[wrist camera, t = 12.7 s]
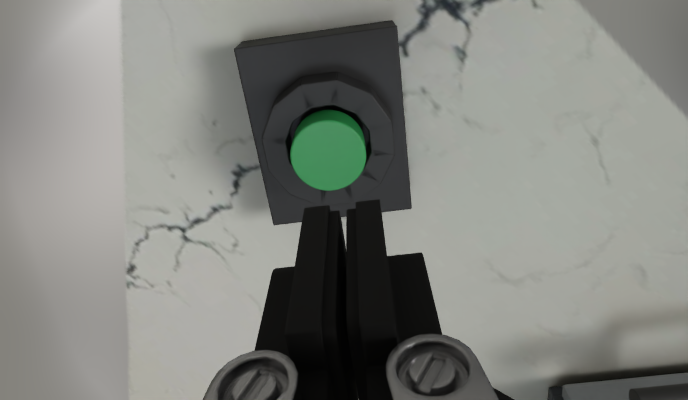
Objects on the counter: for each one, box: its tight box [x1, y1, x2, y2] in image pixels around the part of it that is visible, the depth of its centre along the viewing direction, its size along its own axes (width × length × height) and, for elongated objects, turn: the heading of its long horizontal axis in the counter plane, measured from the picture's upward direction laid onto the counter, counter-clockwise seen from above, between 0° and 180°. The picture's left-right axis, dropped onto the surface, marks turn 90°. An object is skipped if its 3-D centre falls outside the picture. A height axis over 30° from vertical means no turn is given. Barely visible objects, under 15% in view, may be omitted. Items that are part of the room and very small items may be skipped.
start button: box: [290, 110, 366, 191], centre depth 24 cm, size 4×4×2 cm
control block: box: [234, 20, 412, 225], centre depth 26 cm, size 10×8×4 cm
